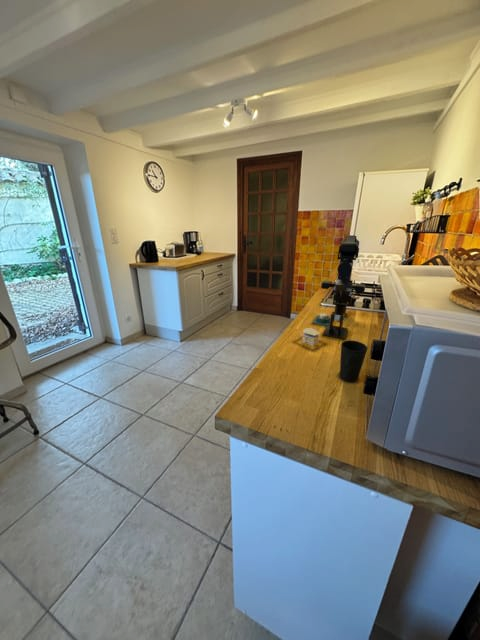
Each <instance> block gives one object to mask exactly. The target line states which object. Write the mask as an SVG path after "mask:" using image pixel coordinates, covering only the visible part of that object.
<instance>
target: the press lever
mask: <svg viewBox="0 0 480 640" xmlns="http://www.w3.org/2000/svg"><path fill="white" fill-rule="evenodd" d="M340 318H341V315H335V317H334V321H337V322H339V323H340Z"/></svg>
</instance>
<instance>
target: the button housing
mask: <svg viewBox="0 0 480 640" xmlns="http://www.w3.org/2000/svg"><path fill="white" fill-rule="evenodd" d="M319 317H320V314H318V315H317V316H316V317H315V318H314V320H313V321H312V325H318V326H322V327H327V326H328V325H330V321H331V318H330V315H329V316H328V315H327V318H326V319H322V318H319Z"/></svg>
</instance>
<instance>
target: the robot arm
mask: <svg viewBox="0 0 480 640" xmlns="http://www.w3.org/2000/svg"><path fill="white" fill-rule="evenodd" d="M338 246H339V247H338V252H337V256H336V257H337V258H336V259H337V260H339V264H338V265H337V268H336V269H337V277H336V279H335V283H334V282H333V281H332V280H324V281H322V283H321V285H320V289H322V290H328V289H330V288H333V290H332V291H333V292H334V294H333V299H332V306H334V312H335V315H342V313H344V317H345V318H346V317H347V313H346V312H347V307H351V306H352V301H353V298H352V295H351V292H352V290H353V291H355V293H358V294H359V293H360V294H365V291H366V284H363V283H355V285H353V283H354V280H352V273H353V267H354V261H357V259H358V258H359V253H360V241H359V240H358V238H357V235H354V234H353V235H350V234H349V235H346V236H345V238H343V240H341V244H339V245H338Z"/></svg>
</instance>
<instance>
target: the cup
mask: <svg viewBox="0 0 480 640" xmlns="http://www.w3.org/2000/svg"><path fill="white" fill-rule="evenodd" d="M367 351H368V346H367V345H366V343H365V344H364V343H363V342H360V341H358V340H343V341H342V342H341V344H340V364H339V365H340V366H339V377H340V379H341V380H343V382H346V383H356V382H357V381H358V380H359V377H360V374H361V370H362V367H363V365H364V361H365V358H366V354H367Z"/></svg>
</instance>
